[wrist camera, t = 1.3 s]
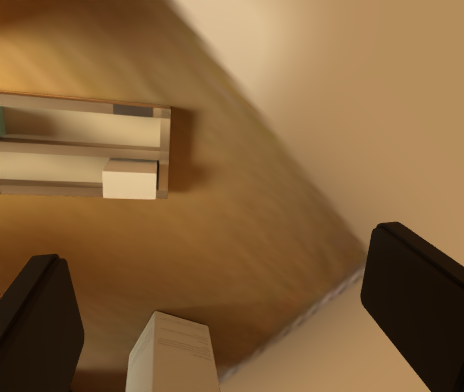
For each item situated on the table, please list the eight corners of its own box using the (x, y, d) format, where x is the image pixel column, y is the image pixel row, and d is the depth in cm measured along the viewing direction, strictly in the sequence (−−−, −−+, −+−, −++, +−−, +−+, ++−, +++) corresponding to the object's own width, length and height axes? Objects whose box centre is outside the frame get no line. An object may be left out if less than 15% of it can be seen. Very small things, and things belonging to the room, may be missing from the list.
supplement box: (127, 354, 38) (111, 479, 26) (155, 308, 36) (151, 419, 25) (182, 368, 40) (190, 487, 29) (210, 325, 39) (230, 433, 27)
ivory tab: (156, 181, 30) (155, 199, 26) (111, 180, 29) (103, 198, 25) (157, 159, 29) (156, 173, 25) (110, 156, 28) (102, 171, 24)
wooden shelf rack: (167, 189, 31) (167, 199, 29) (-47, 182, 27) (-67, 192, 25) (170, 105, 28) (170, 109, 26) (-67, 84, 24) (-92, 85, 22)
